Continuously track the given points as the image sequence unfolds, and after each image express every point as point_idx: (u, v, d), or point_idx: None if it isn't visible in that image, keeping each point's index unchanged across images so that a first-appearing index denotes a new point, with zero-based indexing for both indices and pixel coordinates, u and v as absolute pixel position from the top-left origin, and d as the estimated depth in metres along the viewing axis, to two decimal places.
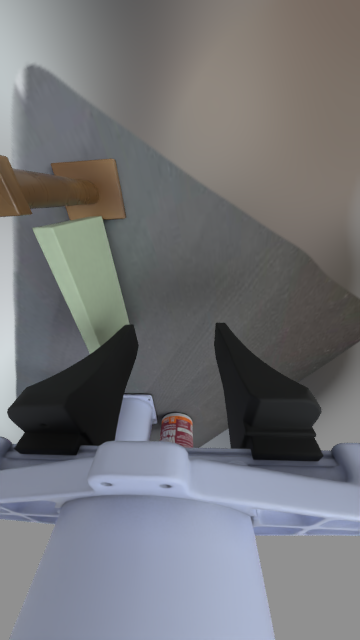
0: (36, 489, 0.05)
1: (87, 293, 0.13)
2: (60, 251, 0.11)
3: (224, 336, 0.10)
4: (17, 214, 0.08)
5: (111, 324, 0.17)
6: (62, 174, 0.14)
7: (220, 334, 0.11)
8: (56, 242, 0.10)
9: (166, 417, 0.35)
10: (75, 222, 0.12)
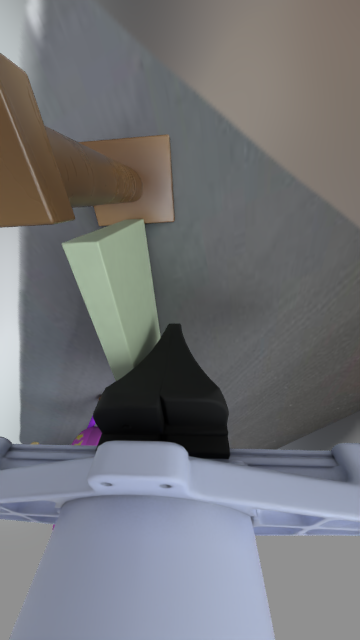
0: (36, 489, 0.05)
1: (133, 334, 0.09)
2: (106, 281, 0.06)
3: (171, 337, 0.11)
4: (48, 221, 0.03)
5: None
6: None
7: None
8: (101, 266, 0.06)
9: None
10: (121, 230, 0.08)
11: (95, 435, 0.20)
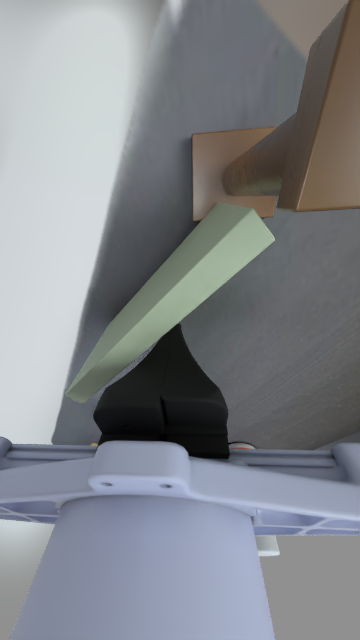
0: (36, 489, 0.05)
1: None
2: (238, 268, 0.06)
3: (171, 337, 0.11)
4: None
5: None
6: (204, 151, 0.10)
7: None
8: (251, 256, 0.06)
9: (229, 448, 0.30)
10: None
11: None
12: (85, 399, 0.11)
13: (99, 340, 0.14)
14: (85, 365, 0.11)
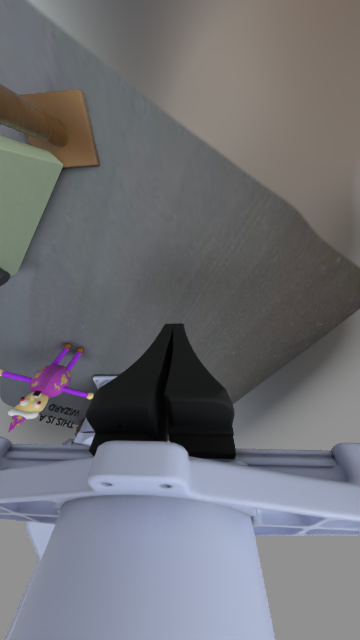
0: (36, 489, 0.05)
1: None
2: None
3: (174, 337, 0.11)
4: None
5: None
6: None
7: (173, 335, 0.11)
8: None
9: None
10: (21, 154, 0.11)
11: (55, 368, 0.23)
12: None
13: None
14: None
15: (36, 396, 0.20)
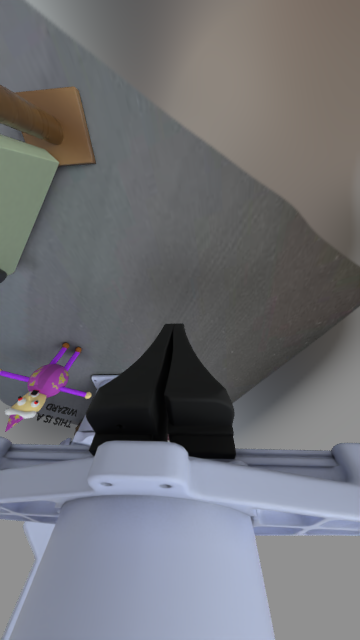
0: (36, 489, 0.05)
1: None
2: None
3: (175, 337, 0.11)
4: None
5: None
6: None
7: (173, 335, 0.11)
8: None
9: None
10: (16, 151, 0.11)
11: (53, 368, 0.23)
12: None
13: None
14: None
15: (34, 395, 0.20)
